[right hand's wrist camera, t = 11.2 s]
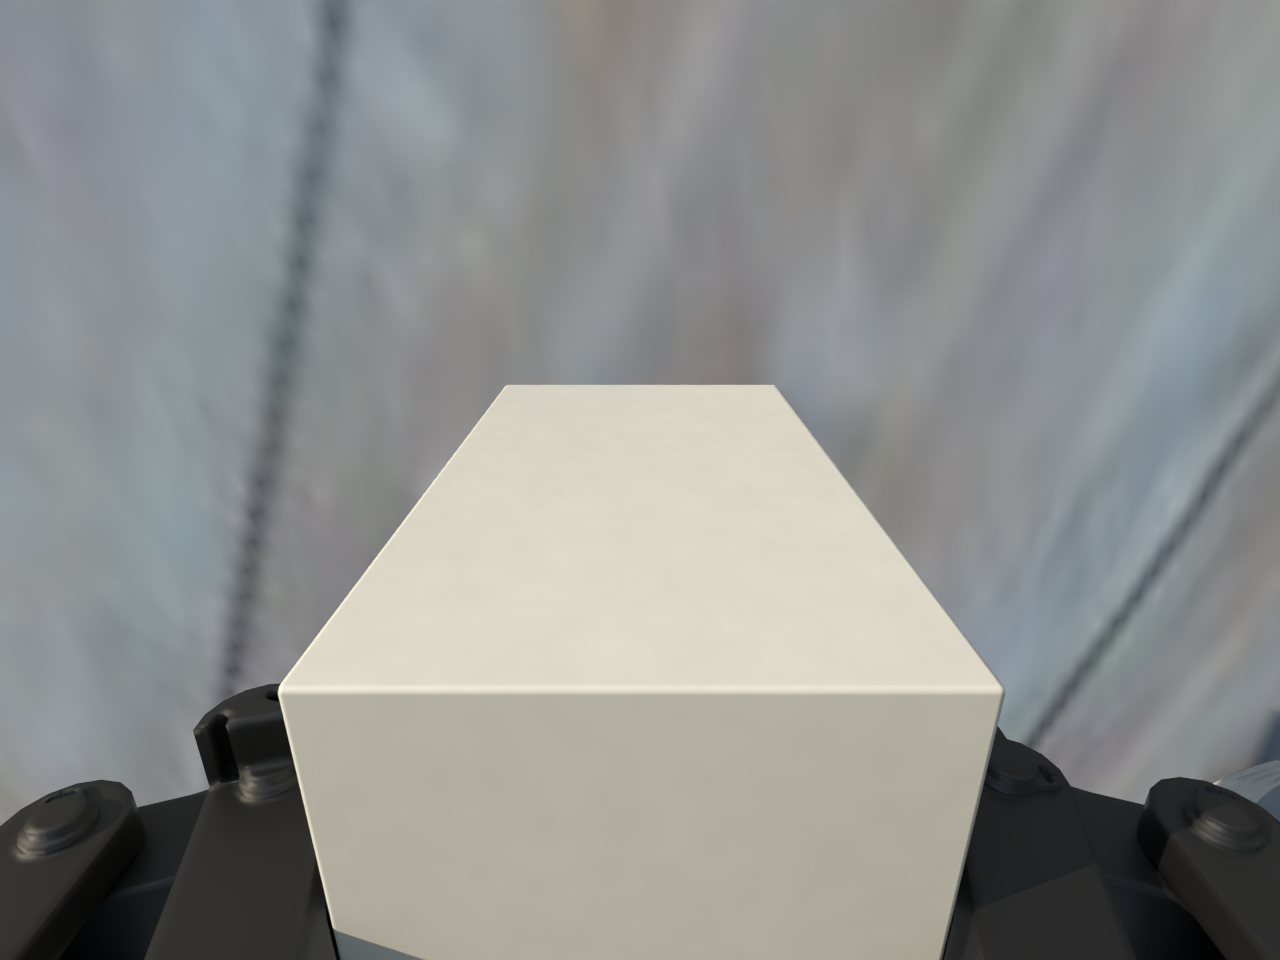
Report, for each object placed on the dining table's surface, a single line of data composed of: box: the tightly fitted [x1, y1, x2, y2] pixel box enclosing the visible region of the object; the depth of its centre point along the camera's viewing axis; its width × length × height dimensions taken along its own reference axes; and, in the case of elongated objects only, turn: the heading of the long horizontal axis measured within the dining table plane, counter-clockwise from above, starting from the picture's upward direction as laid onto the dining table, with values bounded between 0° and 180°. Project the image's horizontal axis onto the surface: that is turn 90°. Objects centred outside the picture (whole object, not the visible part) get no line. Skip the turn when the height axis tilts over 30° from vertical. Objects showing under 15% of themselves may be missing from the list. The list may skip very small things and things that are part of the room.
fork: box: [1213, 760, 1280, 804], centre depth 31 cm, size 3×16×2 cm, turn 175°
